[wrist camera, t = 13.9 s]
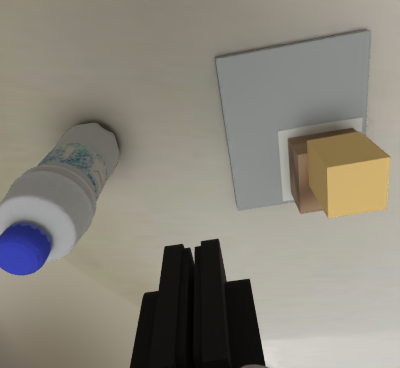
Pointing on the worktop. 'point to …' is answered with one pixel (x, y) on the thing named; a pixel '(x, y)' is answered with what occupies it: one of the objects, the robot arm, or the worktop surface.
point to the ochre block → (348, 174)
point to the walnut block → (305, 170)
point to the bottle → (55, 199)
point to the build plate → (288, 106)
